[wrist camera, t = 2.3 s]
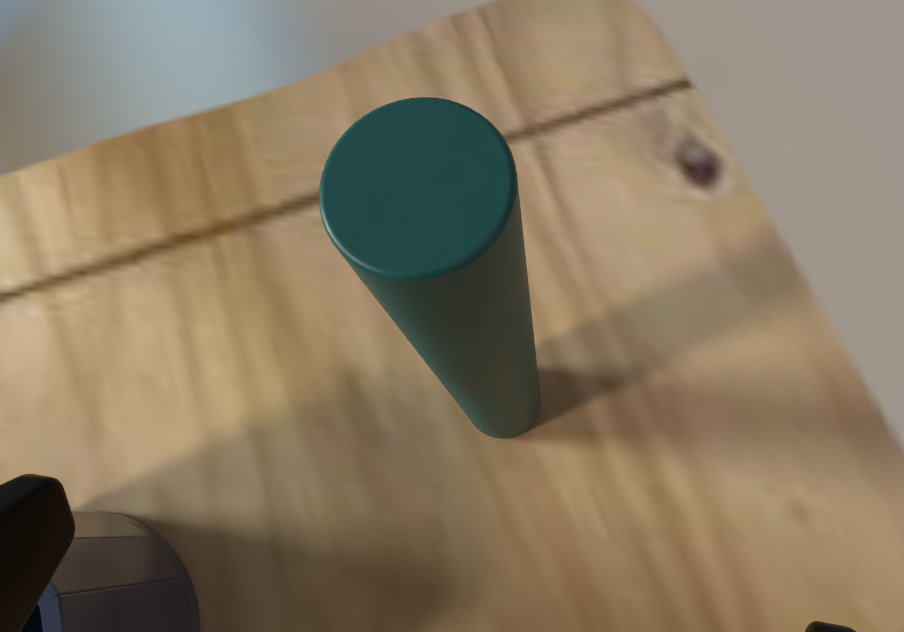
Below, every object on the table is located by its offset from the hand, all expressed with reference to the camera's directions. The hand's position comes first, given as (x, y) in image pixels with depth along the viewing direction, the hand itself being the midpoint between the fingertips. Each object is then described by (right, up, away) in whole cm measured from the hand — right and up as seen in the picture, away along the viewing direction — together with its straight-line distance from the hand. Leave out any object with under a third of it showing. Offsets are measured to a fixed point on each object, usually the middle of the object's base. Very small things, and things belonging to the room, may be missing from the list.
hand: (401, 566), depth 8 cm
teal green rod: (+2, +1, +11) cm, 11 cm away
